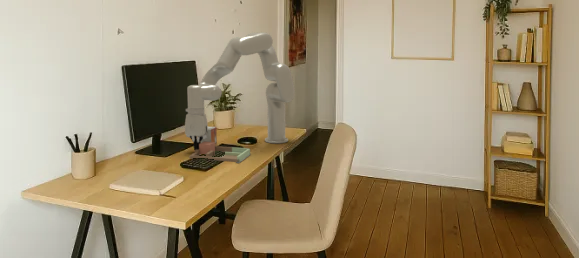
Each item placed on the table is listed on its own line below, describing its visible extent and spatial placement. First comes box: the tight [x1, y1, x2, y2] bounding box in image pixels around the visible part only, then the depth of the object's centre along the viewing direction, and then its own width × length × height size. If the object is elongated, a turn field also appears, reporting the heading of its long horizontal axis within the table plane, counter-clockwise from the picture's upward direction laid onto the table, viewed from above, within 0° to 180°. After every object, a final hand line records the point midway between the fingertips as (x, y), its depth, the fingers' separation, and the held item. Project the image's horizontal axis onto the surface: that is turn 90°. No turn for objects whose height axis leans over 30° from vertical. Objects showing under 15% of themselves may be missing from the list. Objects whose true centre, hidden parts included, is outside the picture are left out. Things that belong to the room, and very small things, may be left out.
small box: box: [201, 126, 218, 146], centre depth 214 cm, size 8×6×10 cm
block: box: [199, 142, 215, 155], centre depth 203 cm, size 6×6×5 cm
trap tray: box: [188, 145, 251, 164], centre depth 199 cm, size 15×24×3 cm, turn 76°
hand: (197, 149), depth 204 cm, fingers closed
